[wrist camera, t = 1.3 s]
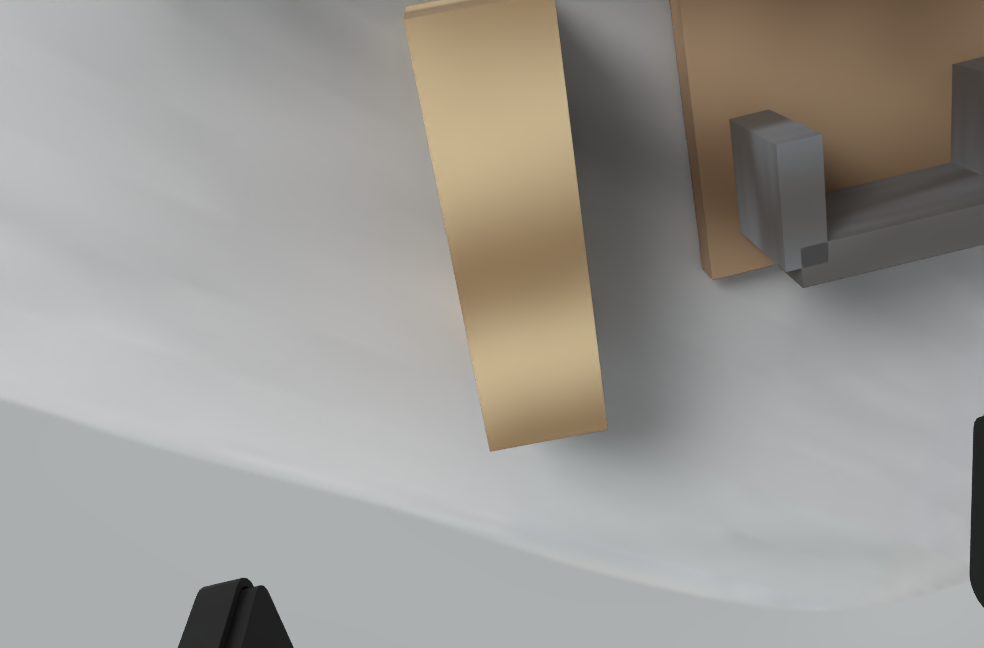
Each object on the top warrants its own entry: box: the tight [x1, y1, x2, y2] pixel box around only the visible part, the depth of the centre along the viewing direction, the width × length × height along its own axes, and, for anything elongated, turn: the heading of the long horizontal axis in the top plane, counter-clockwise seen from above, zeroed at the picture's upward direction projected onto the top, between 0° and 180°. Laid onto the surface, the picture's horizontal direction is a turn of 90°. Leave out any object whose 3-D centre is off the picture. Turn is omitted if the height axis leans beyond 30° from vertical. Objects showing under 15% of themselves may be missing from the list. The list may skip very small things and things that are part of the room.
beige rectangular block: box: [404, 0, 608, 452], centre depth 23 cm, size 12×4×5 cm, turn 9°
